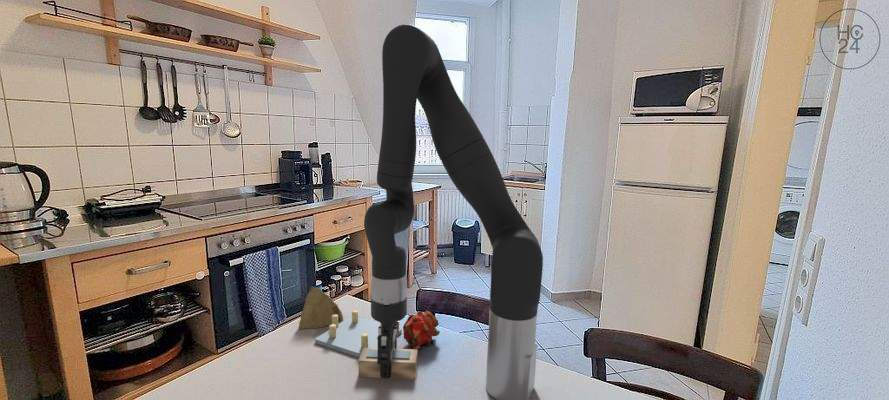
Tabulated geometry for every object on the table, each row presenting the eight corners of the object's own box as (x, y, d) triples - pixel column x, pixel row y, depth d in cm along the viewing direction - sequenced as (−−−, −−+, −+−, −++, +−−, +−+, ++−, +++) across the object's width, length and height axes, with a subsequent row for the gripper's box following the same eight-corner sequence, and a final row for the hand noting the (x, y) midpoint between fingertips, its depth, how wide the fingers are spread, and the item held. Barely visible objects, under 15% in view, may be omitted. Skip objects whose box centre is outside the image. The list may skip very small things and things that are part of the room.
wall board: (403, 333, 99) (403, 318, 98) (371, 361, 86) (371, 344, 85) (350, 318, 106) (350, 304, 105) (313, 342, 93) (312, 327, 93)
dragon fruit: (432, 337, 100) (415, 368, 89) (407, 316, 101) (387, 345, 90) (450, 317, 97) (434, 348, 86) (424, 296, 97) (405, 323, 86)
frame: (417, 366, 85) (417, 348, 85) (415, 380, 80) (415, 361, 80) (364, 364, 86) (363, 346, 85) (358, 377, 81) (358, 359, 80)
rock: (352, 308, 107) (320, 298, 109) (345, 292, 101) (312, 283, 103) (333, 344, 100) (300, 334, 102) (324, 331, 94) (289, 319, 96)
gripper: (377, 281, 87) (377, 346, 90) (363, 309, 73) (364, 386, 76) (410, 282, 87) (409, 347, 90) (403, 310, 73) (402, 387, 76)
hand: (388, 365), depth 83 cm, fingers open, 8 cm apart
